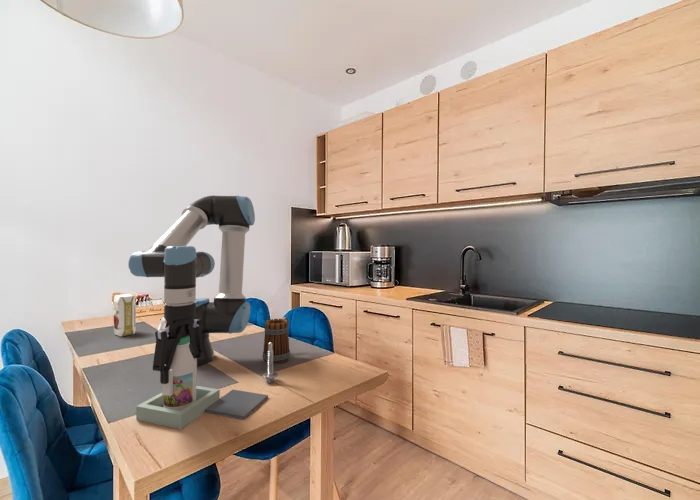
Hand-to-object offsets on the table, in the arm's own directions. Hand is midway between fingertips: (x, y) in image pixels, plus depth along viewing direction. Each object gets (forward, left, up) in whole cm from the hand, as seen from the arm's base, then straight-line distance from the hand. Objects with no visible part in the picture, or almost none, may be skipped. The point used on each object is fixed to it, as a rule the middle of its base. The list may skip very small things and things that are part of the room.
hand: (180, 387), depth 85 cm
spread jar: (-65, +62, -6) cm, 90 cm away
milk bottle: (0, 0, -6) cm, 6 cm away
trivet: (+13, +7, -6) cm, 16 cm away
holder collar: (0, 0, -6) cm, 6 cm away
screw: (+14, +23, -6) cm, 28 cm away
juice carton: (-80, +49, -6) cm, 94 cm away
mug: (+6, +44, -6) cm, 45 cm away
